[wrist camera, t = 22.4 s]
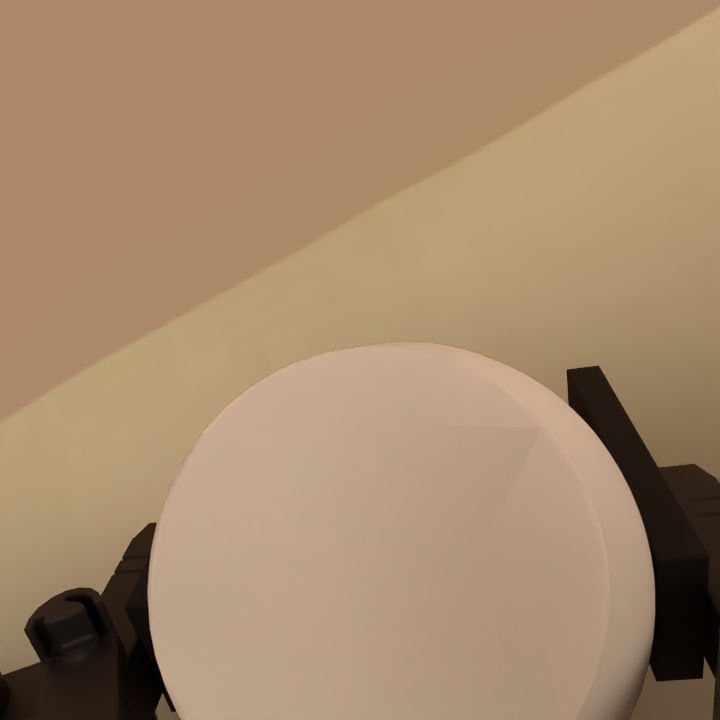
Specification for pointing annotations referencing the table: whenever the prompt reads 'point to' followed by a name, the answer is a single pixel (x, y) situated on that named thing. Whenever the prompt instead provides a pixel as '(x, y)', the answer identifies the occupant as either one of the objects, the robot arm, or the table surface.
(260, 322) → the table surface
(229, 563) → the pill bottle
